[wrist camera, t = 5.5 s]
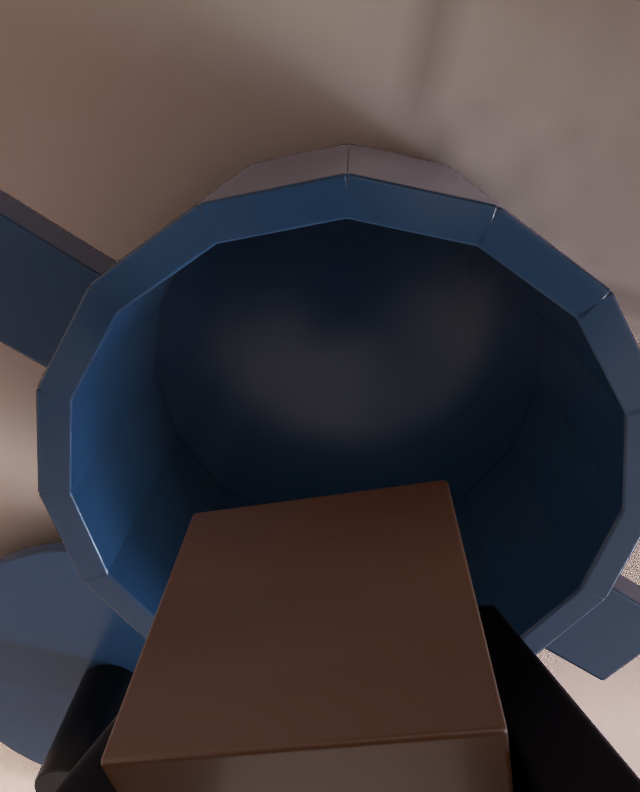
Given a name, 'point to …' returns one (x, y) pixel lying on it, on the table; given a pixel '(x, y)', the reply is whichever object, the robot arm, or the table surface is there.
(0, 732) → the lid
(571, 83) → the table surface
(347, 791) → the block
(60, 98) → the table surface
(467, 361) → the pot
